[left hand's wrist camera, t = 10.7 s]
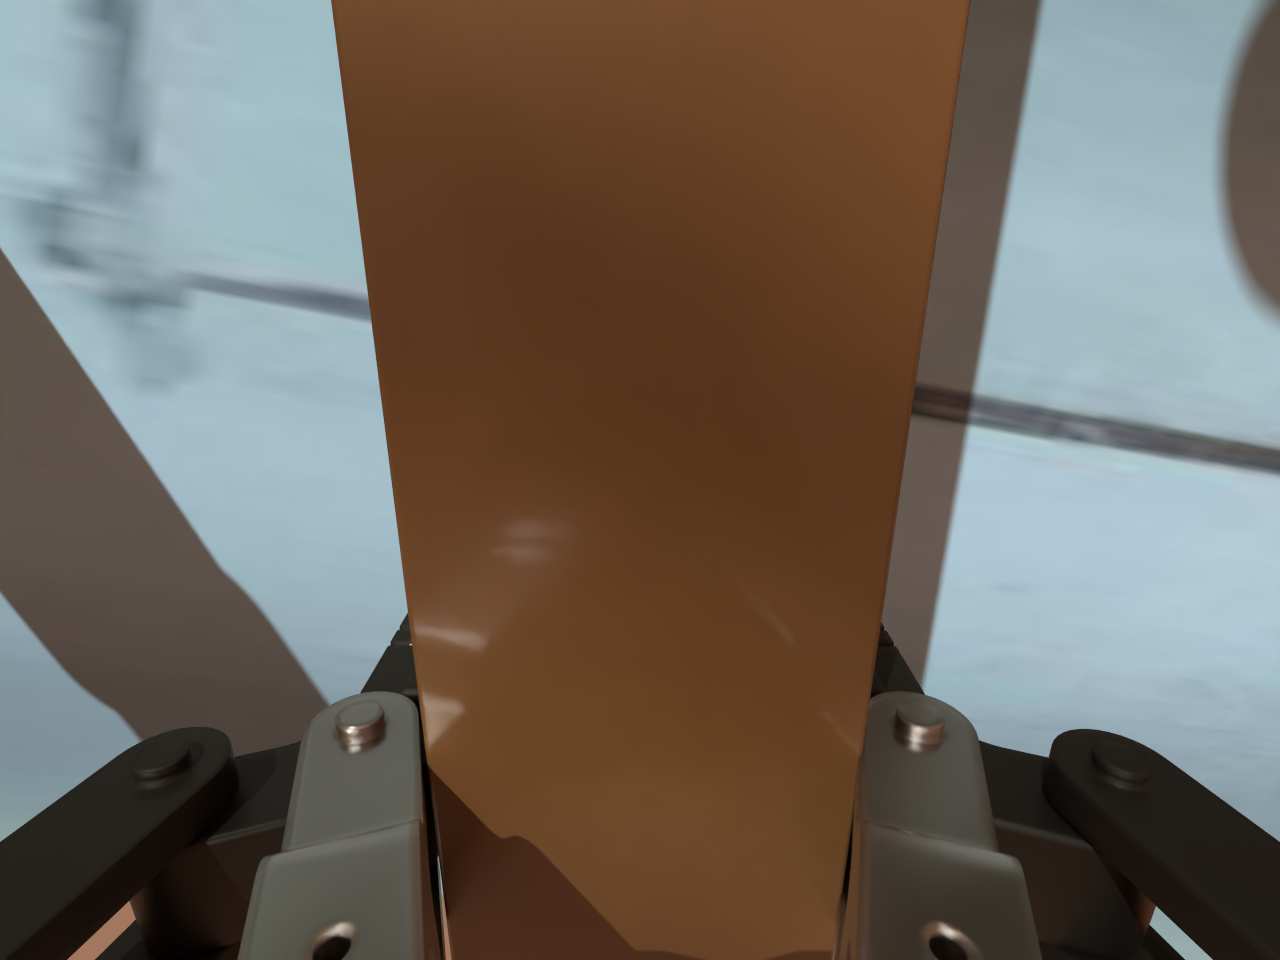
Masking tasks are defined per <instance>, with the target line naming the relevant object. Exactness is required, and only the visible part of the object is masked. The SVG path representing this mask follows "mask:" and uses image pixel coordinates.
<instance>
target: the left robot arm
mask: <svg viewBox="0 0 1280 960" xmlns="http://www.w3.org/2000/svg"><path fill="white" fill-rule="evenodd" d="M438 855H439V854H438V846H437V838H436V830H435V822H434V814H433V806H432V798H431V790H430V782H429V774H428V767H427V759H426V751H425V743H424V735H423V727H422V719H421V711H420V703H419V695H418V687H417V679H416V671H415V663H414V655H413V647H412V639H411V631H410V623H409V615H408V613H407V615H406V617H405V619H404V620H403V622H402V624H401V625H400V630H397V632H396V634H395V635H394V637H393V639H392V640H391V645H390V646H388V647H387V649H386V651H385V652H384V654H383V656H382V657H381V659H380V661H379V662H378V664H377V666H376V667H375V669H374V671H373V672H372V674H371V676H370V678H369V679H368V681H367V683H366V684H365V686H364V688H363V689H362V691H361V693H360V694H357V695H353V696H350V697H347V698H344V699H342V700H340V701H337V702H335V703H333V704H332V705H330V706H328V707H326V708H325V709H324V710H322V711H321V712H319V713H318V714H317V715H316V716H315V717H314V718H313V719H312V720H311V721H310V722H309V724H308V725H307V727H306V728H305V730H304V732H303V735H302V739H301V741H300V742H297V743H294V744H291V745H287V746H283V747H278V748H274V749H269V750H265V751H260V752H256V753H251V754H247V755H242V756H238V757H234V754H233V750H232V746H231V743H230V740H229V738H228V737H227V736H226V735H225V734H224V733H223V732H221V731H219V730H216V729H213V728H207V727H190V728H182V729H177V730H172V731H169V732H165V733H162V734H159V735H156V736H154V737H151V738H149V739H147V740H144V741H142V742H140V743H138V744H136V745H134V746H133V747H131V748H129V749H127V750H126V751H124V752H123V753H121V754H120V755H118V756H117V757H116V758H114V759H113V760H112V761H110V762H109V763H107V764H106V765H105V766H103V767H102V768H101V769H99V770H98V771H96V772H95V773H94V774H92V775H91V776H90V777H88V778H87V779H86V780H84V781H83V782H81V783H80V784H79V785H77V786H76V787H75V788H73V789H72V790H71V791H69V792H68V793H66V794H65V795H64V796H62V797H61V798H60V799H58V800H57V801H56V802H54V803H53V804H51V805H50V806H49V807H47V808H46V809H45V810H43V811H42V812H41V813H39V814H38V815H36V816H35V817H34V818H32V819H31V820H30V821H28V822H27V823H26V824H24V825H23V826H21V827H20V828H19V829H17V830H16V831H15V832H13V833H12V834H11V835H9V836H8V837H6V838H5V839H4V840H2V841H1V842H0V960H67V959H68V958H69V957H70V956H71V955H72V954H73V953H75V952H76V951H77V950H78V949H79V948H80V947H81V946H82V945H83V944H84V943H85V942H86V941H87V940H88V939H89V938H90V937H91V936H92V935H94V934H95V933H96V932H97V931H98V930H99V929H100V928H101V927H102V926H103V925H104V924H105V923H106V922H107V921H108V920H109V919H110V918H112V917H113V916H114V915H115V914H116V913H117V912H118V911H119V910H120V909H121V908H122V907H123V906H124V905H125V904H126V903H127V902H128V901H130V903H131V906H132V909H133V912H134V915H135V918H136V920H135V921H134V922H133V923H132V924H131V925H130V926H129V927H128V928H127V929H126V930H125V931H124V932H123V933H122V934H121V935H120V936H119V937H118V938H117V939H116V940H115V941H114V942H113V943H112V944H110V945H109V947H107V948H106V949H105V950H104V952H102V953H101V954H100V955H99V956H98V957H97V958H96V959H95V960H446V956H445V942H444V927H443V912H442V897H441V882H440V870H439V862H438ZM1156 906H1157V907H1158V908H1159V909H1160V910H1161V911H1162V912H1163V913H1164V914H1165V915H1166V916H1167V917H1169V918H1170V919H1171V920H1172V921H1173V922H1174V923H1175V924H1176V925H1177V926H1178V927H1179V928H1180V929H1181V930H1182V931H1183V932H1184V933H1185V934H1186V935H1188V936H1189V937H1190V938H1191V939H1192V940H1193V941H1194V942H1195V943H1196V944H1197V945H1198V946H1199V947H1200V948H1201V949H1202V950H1203V951H1204V952H1205V953H1207V954H1208V955H1209V956H1210V957H1211V958H1212V959H1213V960H1280V842H1279V841H1278V840H1276V839H1275V838H1274V837H1272V836H1271V835H1270V834H1268V833H1267V832H1265V831H1264V830H1263V829H1261V828H1260V827H1259V826H1257V825H1256V824H1254V823H1253V822H1252V821H1250V820H1249V819H1248V818H1246V817H1245V816H1244V815H1242V814H1241V813H1239V812H1238V811H1237V810H1235V809H1234V808H1233V807H1231V806H1230V805H1229V804H1227V803H1226V802H1224V801H1223V800H1222V799H1220V798H1219V797H1218V796H1216V795H1215V794H1214V793H1212V792H1211V791H1209V790H1208V789H1207V788H1205V787H1204V786H1203V785H1201V784H1200V783H1199V782H1197V781H1196V780H1194V779H1193V778H1192V777H1190V776H1189V775H1188V774H1186V773H1185V772H1184V771H1182V770H1181V769H1179V768H1178V767H1177V766H1175V765H1174V764H1173V763H1171V762H1170V761H1169V760H1167V759H1166V758H1164V757H1163V756H1161V755H1160V754H1158V753H1157V752H1155V751H1154V750H1152V749H1150V748H1148V747H1146V746H1145V745H1143V744H1140V743H1138V742H1136V741H1134V740H1131V739H1129V738H1126V737H1123V736H1121V735H1117V734H1114V733H1110V732H1105V731H1100V730H1093V729H1076V730H1069V731H1066V732H1063V733H1062V734H1060V735H1058V736H1057V737H1056V738H1055V739H1054V741H1053V744H1052V747H1051V750H1050V754H1049V758H1048V757H1043V756H1039V755H1034V754H1030V753H1025V752H1020V751H1016V750H1011V749H1007V748H1002V747H998V746H995V745H991V744H988V743H985V742H982V741H980V740H978V736H977V732H976V730H975V728H974V727H973V725H972V724H971V722H970V721H969V720H968V719H967V718H966V717H965V716H964V715H963V714H962V713H961V712H959V711H958V710H956V709H955V708H954V707H952V706H950V705H948V704H947V703H945V702H943V701H940V700H938V699H936V698H933V697H930V696H927V695H925V694H924V692H923V690H922V689H921V687H920V686H919V684H918V682H917V681H916V679H915V677H914V676H913V674H912V672H911V671H910V669H909V667H908V666H907V664H906V662H905V661H904V659H903V657H902V656H901V654H900V652H899V651H898V649H897V647H894V642H893V641H892V639H891V637H890V636H889V634H888V633H887V631H884V626H883V624H882V623H881V626H880V633H879V640H878V647H877V654H876V661H875V668H874V675H873V682H872V689H871V696H870V703H869V710H868V717H867V724H866V730H865V737H864V744H863V751H862V756H860V758H859V765H858V772H857V780H856V787H855V800H854V814H853V821H852V828H851V835H850V842H849V849H848V856H847V863H846V869H845V876H844V883H843V890H842V894H841V895H840V903H839V910H838V917H837V926H836V941H835V956H834V960H1185V959H1184V958H1183V957H1182V956H1181V955H1180V954H1179V953H1178V952H1177V951H1176V950H1175V949H1174V948H1173V947H1172V946H1171V945H1170V944H1169V943H1167V942H1166V941H1165V940H1164V939H1163V938H1162V937H1161V936H1160V935H1159V934H1158V933H1157V932H1156V931H1155V930H1154V929H1153V928H1152V927H1151V926H1150V925H1149V924H1150V921H1151V918H1152V916H1153V913H1154V910H1155V907H1156Z"/></svg>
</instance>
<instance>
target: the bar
mask: <svg viewBox="0 0 1280 960" xmlns="http://www.w3.org/2000/svg"><path fill="white" fill-rule="evenodd" d="M970 1H971V0H331V3H332V11H333V19H334V26H335V34H336V42H337V50H338V58H339V66H340V74H341V82H342V90H343V98H344V106H345V114H346V122H347V130H348V138H349V146H350V154H351V162H352V170H353V178H354V186H355V194H356V202H357V209H358V217H359V225H360V233H361V241H362V249H363V257H364V265H365V273H366V281H367V289H368V297H369V305H370V313H371V321H372V329H373V337H374V345H375V353H376V361H377V369H378V377H379V385H380V393H381V400H382V408H383V416H384V424H385V432H386V440H387V448H388V456H389V464H390V472H391V480H392V488H393V496H394V504H395V512H396V520H397V528H398V536H399V544H400V552H401V560H402V568H403V576H404V583H405V591H406V599H407V607H408V615H409V623H410V631H411V639H412V647H413V655H414V663H415V671H416V679H417V687H418V695H419V703H420V711H421V719H422V727H423V735H424V743H425V751H426V759H427V767H428V774H429V782H430V790H431V798H432V806H433V814H434V822H435V830H436V838H437V846H438V854H439V862H440V870H441V878H442V886H443V894H444V902H445V910H446V918H447V926H448V934H449V941H450V949H451V957H452V960H833V953H834V946H835V939H836V926H837V917H838V910H839V903H840V895H841V894H842V890H843V883H844V876H845V869H846V863H847V856H848V849H849V842H850V835H851V828H852V821H853V814H854V800H855V787H856V780H857V772H858V765H859V758H860V756H862V751H863V744H864V737H865V730H866V724H867V717H868V710H869V703H870V696H871V689H872V682H873V675H874V668H875V661H876V654H877V647H878V640H879V633H880V626H881V619H882V612H883V605H884V598H885V592H886V585H887V578H888V571H889V564H890V557H891V550H892V543H893V536H894V529H895V522H896V515H897V508H898V501H899V494H900V487H901V480H902V473H903V466H904V459H905V453H906V446H907V439H908V432H909V425H910V418H911V411H912V404H913V397H914V390H915V383H916V376H917V369H918V362H919V355H920V348H921V341H922V334H923V327H924V320H925V314H926V307H927V300H928V293H929V286H930V279H931V272H932V265H933V258H934V251H935V244H936V237H937V230H938V223H939V216H940V209H941V202H942V195H943V188H944V182H945V175H946V168H947V161H948V154H949V147H950V140H951V133H952V126H953V119H954V112H955V105H956V98H957V91H958V84H959V77H960V70H961V63H962V56H963V49H964V43H965V36H966V29H967V22H968V15H969V8H970Z"/></svg>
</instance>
